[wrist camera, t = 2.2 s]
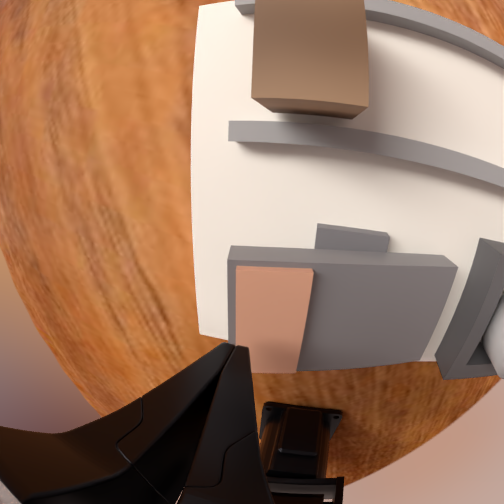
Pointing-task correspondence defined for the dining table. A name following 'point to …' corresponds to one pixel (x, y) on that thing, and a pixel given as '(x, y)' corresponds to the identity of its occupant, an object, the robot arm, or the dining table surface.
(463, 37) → the panel
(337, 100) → the slider knob
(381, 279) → the rocker switch
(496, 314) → the push button
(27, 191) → the dining table surface
